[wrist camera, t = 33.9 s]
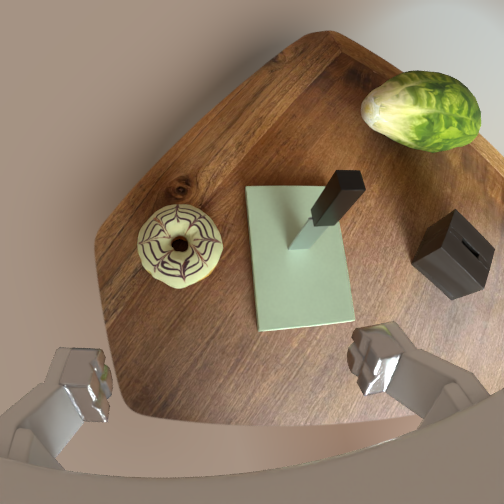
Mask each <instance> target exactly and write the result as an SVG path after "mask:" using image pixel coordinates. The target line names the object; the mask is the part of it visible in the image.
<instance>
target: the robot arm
mask: <svg viewBox="0 0 504 504" xmlns="http://www.w3.org/2000/svg"><path fill="white" fill-rule="evenodd" d="M351 338H352V339H353V341H354V342H353V343H352V344H351V345H350V347H349V348H348V352H347V363H348V366H349V369H350V371H351V373H353V374H354V375H356V376H358V380H357V384H358V385H359V387H360V389H361V391H362V393H363V395H364V396H367V395H371V394H375V393H380V392H384V391H386V393H387V394H389V395H390V396H391V397H393V398H394V399H396V400H397V401H399V402H400V403H401V404H403V405H404V406H406V407H407V408H409V409H410V410H411V411H413V412H414V413H416V414H417V415H419V416H420V417H421V418H423V420H422V422H421V423H420V425H419V426H418V428H417V430H415V431H412V432H410V433H407V434H404V435H402V436H399V437H396V438H393V439H390V440H388V441H385V442H382V443H379V444H376V445H372V446H369V447H366V448H363V449H360V450H356V451H352V452H349V453H345V454H341V455H337V456H334V457H330V458H325V459H321V460H317V461H313V462H308V463H303V464H298V465H293V466H287V467H282V468H276V469H270V470H263V471H256V472H249V473H240V474H230V475H219V476H206V477H185V478H141V477H120V476H108V475H97V474H88V473H79V472H73V471H66V470H65V469H64V468H63V467H62V466H61V465H60V464H59V463H58V461H57V460H56V459H55V458H56V457H57V455H58V454H59V453H60V452H61V450H62V449H63V448H64V447H65V445H66V444H67V443H68V442H69V440H70V439H71V438H72V437H73V435H74V434H75V433H76V432H77V430H78V429H79V428H80V427H81V425H82V424H83V423H84V422H83V421H88V422H108V414H109V408H110V405H109V403H108V401H107V399H108V398H109V397H110V396H111V395H112V389H113V385H112V376H111V371H110V369H109V367H108V366H106V365H105V364H104V363H105V355H104V352H103V350H101V349H91V348H64V347H59V348H58V349H57V350H56V352H55V355H54V357H53V360H52V362H51V365H50V368H49V371H48V373H47V376H46V379H45V381H44V383H40V384H38V385H37V386H36V387H35V388H33V389H32V390H31V391H30V392H29V393H27V394H26V395H25V396H24V397H23V398H21V399H20V400H19V401H18V402H17V403H15V404H14V405H13V406H12V407H10V408H9V409H8V410H7V411H6V412H5V413H3V414H2V415H1V416H0V504H504V388H502V389H501V390H499V391H497V392H495V393H494V394H492V395H490V394H489V393H488V392H487V391H486V389H485V388H484V387H483V385H482V384H481V383H480V382H479V380H478V379H477V378H476V377H475V375H474V374H473V373H471V372H469V371H467V370H465V369H463V368H460V367H458V366H456V365H454V364H452V363H450V362H448V361H446V360H443V359H441V358H439V357H437V356H435V355H433V354H431V353H429V352H427V351H424V350H422V349H417V348H416V347H415V346H414V344H413V343H412V342H411V340H410V339H409V338H408V337H407V335H406V334H405V333H404V332H403V330H402V329H401V328H400V327H399V325H398V324H397V323H396V322H394V321H392V322H387V323H382V324H377V325H372V326H366V327H361V328H356V329H355V330H354V331H353V334H352V337H351Z"/></svg>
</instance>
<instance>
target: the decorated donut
mask: <svg viewBox="0 0 504 504" xmlns="http://www.w3.org/2000/svg"><path fill="white" fill-rule="evenodd" d="M178 239H182V240H185V241H187V242H188V249H187V250H186V251H185V252H180V251H177V252H176V251H175V250H174V248H173V247H172V245H171V244H172V242H173V241H175V240H178ZM137 246H138V253H139V256H140V258H141V262H142V265H143V267H144V268H145V269H146V271H147V272H148V273H150V274H151V275H152V276H153V277H154V278H155V279H158V280H160V281H162V282H164V283H166V284H167V285H169V286H170V287H173V288H184V287H187V286H188V285H191V284H194V283H196V282H198V281H201V280H203V279H204V278H206V277H207V276H209V275H210V274H211V273H212V271H213V270H214V269H215V267H216V265H217V263H218V261H219V258H220V255H221V252H222V250H223V244H222V240H221V236H220V233H219V231H218V229H217V227H216V225H215V224H214V222H213V220H212V219H211V218H210V217H209V216H208V215H206V214H205V213H204V212H203V211H201V210H200V209H198V208H196V207H193V206H191V205H187V204H174V205H168V206H165V207H163V208H161V209H160V210H158V211H156V212H155V213H154V214H153V215H152V216H151V217H150V218H149V219H148V221H147V222H146V223H145V224H144V225H143V226H142V228H141V230H140V232H139V234H138V242H137Z"/></svg>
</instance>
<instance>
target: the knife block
mask: <svg viewBox="0 0 504 504" xmlns="http://www.w3.org/2000/svg"><path fill="white" fill-rule="evenodd" d="M494 251H495V249H494V248H493V246H492V245H491V244H490V243H489V242H488V241H487V240H486V239H485V238H484V237H483V236H482V235H481V234H480V233H479V232H478V231H477V230H476V229H475V228H474V227H473V226H472V225H471V224H470V223H469V222H468V221H467V220H466V219H465V218H464V217H463V216H462V215H461V214H460V213H459V212H458V211H457V210H456V209H455V210H453V211H452V212H450V213H449V214H448V215H446V216H445V217H443V218H442V219H441V220H439V221H438V222H436V223H435V224H433V225H432V226H430V227H429V228H428V229H427V231H426V233H425V235H424V238H423V240H422V242H421V244H420V247H419V249H418V251H417V253H416V255H415V257H414V259H413V261H412V265H413V266H414V267H415V268H416V269H417V270H419V271H420V272H421V273H422V274H423V275H424V276H425V277H427V278H428V279H429V280H430V281H431V282H432V283H433V284H434V285H436V286H437V287H438V288H439V289H440V290H441V291H442V292H443V293H444V294H445V295H447V296H448V297H449V298H450V299H451V300H454V299H457V298H460V297H463V296H466V295H469V294H472V293H474V292H477V291H480V290H483V289H484V287H485V284H486V280H487V277H488V274H489V270H490V267H491V263H492V259H493V255H494Z"/></svg>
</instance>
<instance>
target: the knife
mask: <svg viewBox="0 0 504 504" xmlns="http://www.w3.org/2000/svg"><path fill="white" fill-rule="evenodd" d="M365 190H366V189H365V185H364V182H363V179H362V175H361V172H360V171H359V170H336V171H335V173H334V174H333V176H332V177H331V179H330V180H329V182H328V183H327V185H326V187H325V188H324V190H323V191H322V193H321V194H320V196H319V197H318V199H317V200H316V202H315V204H314V205H313V207H312V208H311V215H312V217H309V218H308V220H307V221H306V223H305V224H304V225H303V227H302V228H301V230H300V231H299V233H298V234H297V236H296V237H295V239H294V240H293V242H292V243H291V244H290V246H289V247H288V250H298V249H310V247H311V246H312V245H313V244H314V243H315V242H316V240H317V239H318V238H319V237H320V236H321V235H322V234H323V232H324V231H325V230H326V229H327V228H328V227H329V226H335V225H336V223H337V222H338V221H339V220H340V219H341V218H342V217H343V216H344V214H345V213H346V212H347V211H348V210H349V209H350V208H351V206H352V205H353V204H354V203H355V202H356V201H357V200H358V198H359V197H360V196H361V195H362V194H363V193H364V192H365Z"/></svg>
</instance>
